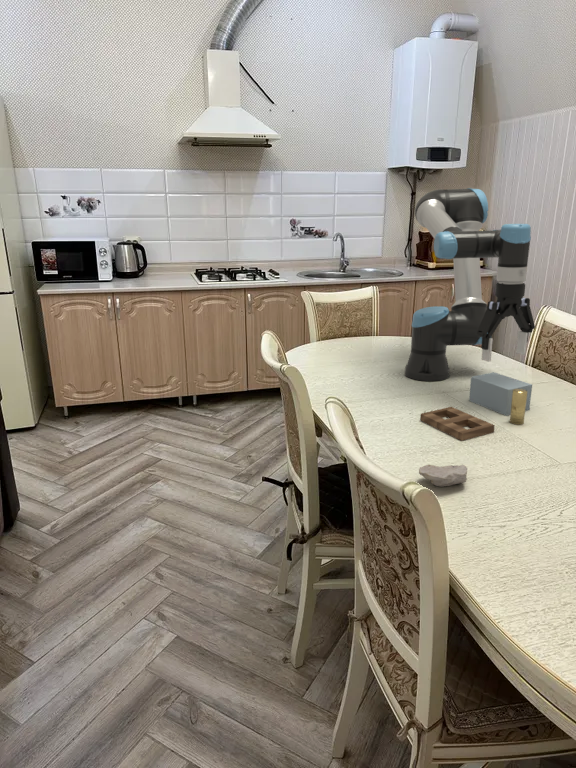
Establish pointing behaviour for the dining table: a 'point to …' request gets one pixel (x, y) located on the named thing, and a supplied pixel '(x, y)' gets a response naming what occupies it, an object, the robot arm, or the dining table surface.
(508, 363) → the dining table surface
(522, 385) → the housing
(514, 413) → the peg
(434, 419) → the board
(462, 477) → the fossil
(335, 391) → the dining table surface
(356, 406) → the dining table surface
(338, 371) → the dining table surface
